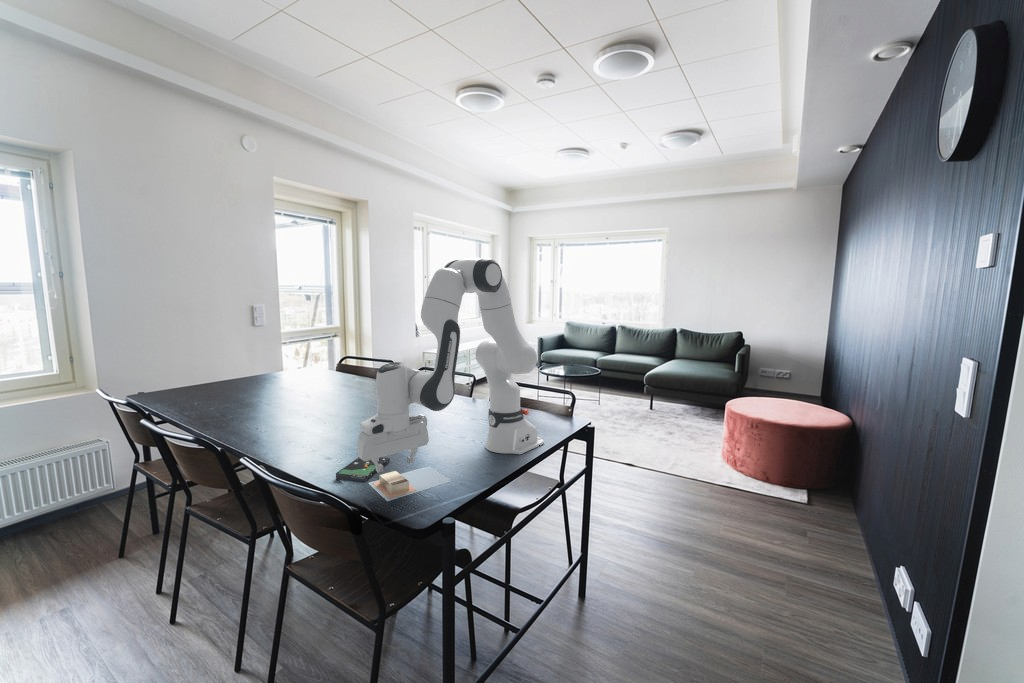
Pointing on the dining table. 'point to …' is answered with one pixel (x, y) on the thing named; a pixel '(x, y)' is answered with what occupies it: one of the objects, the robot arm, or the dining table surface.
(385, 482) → the cream curved ramp
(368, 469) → the disk drive
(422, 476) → the mat
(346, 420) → the dining table surface
